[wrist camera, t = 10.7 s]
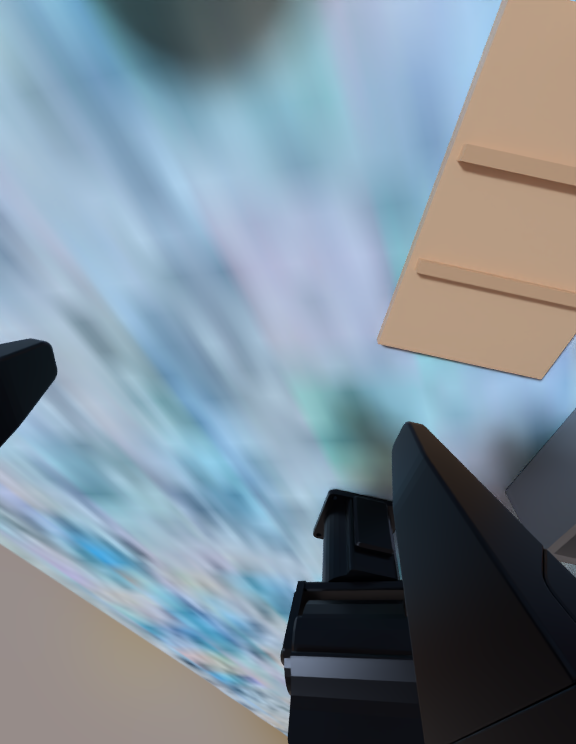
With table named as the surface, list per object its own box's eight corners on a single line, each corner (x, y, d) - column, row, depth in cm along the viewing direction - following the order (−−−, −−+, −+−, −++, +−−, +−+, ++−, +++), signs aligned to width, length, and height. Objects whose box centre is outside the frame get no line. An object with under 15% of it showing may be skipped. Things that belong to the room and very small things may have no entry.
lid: (534, 372, 20) (569, 409, 17) (376, 337, 20) (383, 369, 17) (849, -68, 11) (1051, -156, 8) (551, -132, 11) (635, -246, 8)
